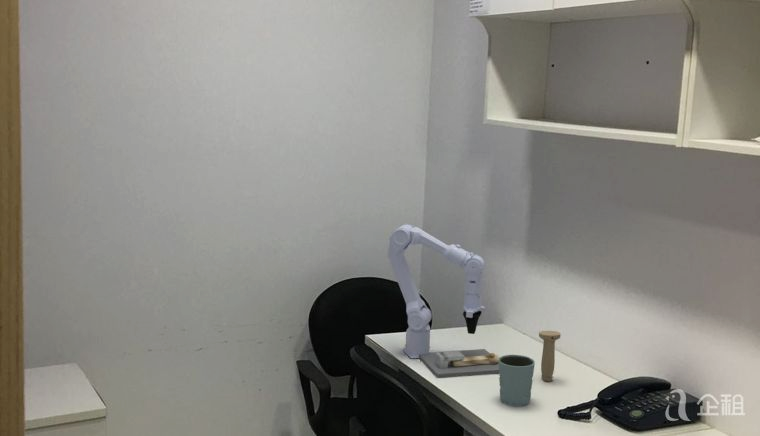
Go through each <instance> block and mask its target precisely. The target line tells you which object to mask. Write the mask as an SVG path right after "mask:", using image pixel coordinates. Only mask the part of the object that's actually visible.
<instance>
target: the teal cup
mask: <svg viewBox="0 0 760 436" xmlns="http://www.w3.org/2000/svg"><path fill="white" fill-rule="evenodd" d="M498 363H499V374H498V376H499V378H498V379H499V400H500V401H501V403H503V404H504V405H509V406H513V407H524V406H527V405H529V404H530V402H531V396H532V388H533V377H534V371H535V363H536V362H535V360H534V359H533V358H531V357H529V356H527V355H526V356H525V355H521V354H505V355H501V356H499V359H498Z"/></svg>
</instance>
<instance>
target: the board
mask: <svg viewBox="0 0 760 436" xmlns="http://www.w3.org/2000/svg"><path fill="white" fill-rule="evenodd" d="M452 351H453V350H447V351H443V352H452ZM458 351H459V352H461V353H462V354H463V355H464V356H465V357H474V356H485V355H488V354H490V352H489V351H488V350H487V349H485V348H477V349H465V350H464V349H463V350H458ZM436 352H437V351H433V352H430V351H429V353H427V354H422V355H419V358H418V359H419V360H420V361H421V363H423V365H425V366H426V368H427V369H428V370H429V371H430V372H431V373H432V374H433V376H435V377H436V378H437V379H441V378H456V377H471V376H483V375H499V363H497V364H479V365H467V366H456V367H454V366H452V365H451V364H450V361H448V368H443V369H440V368H439V367H438V366H437V365H436V364H435V353H436Z"/></svg>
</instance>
